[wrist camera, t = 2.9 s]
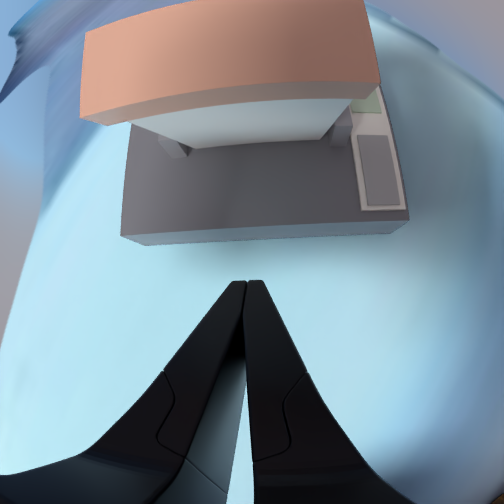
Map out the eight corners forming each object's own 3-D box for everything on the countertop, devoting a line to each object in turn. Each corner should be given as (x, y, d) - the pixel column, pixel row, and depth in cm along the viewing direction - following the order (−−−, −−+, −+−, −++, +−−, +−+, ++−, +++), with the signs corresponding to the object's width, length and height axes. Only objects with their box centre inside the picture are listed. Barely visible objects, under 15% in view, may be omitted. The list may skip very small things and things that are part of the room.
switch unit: (390, 233, 16) (426, 208, 11) (145, 245, 18) (99, 227, 13) (363, 87, 18) (378, 36, 13) (156, 102, 19) (127, 59, 14)
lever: (319, 147, 15) (380, 83, 5) (198, 155, 15) (79, 118, 5) (315, 105, 14) (361, -8, 4) (196, 114, 15) (86, 32, 5)
